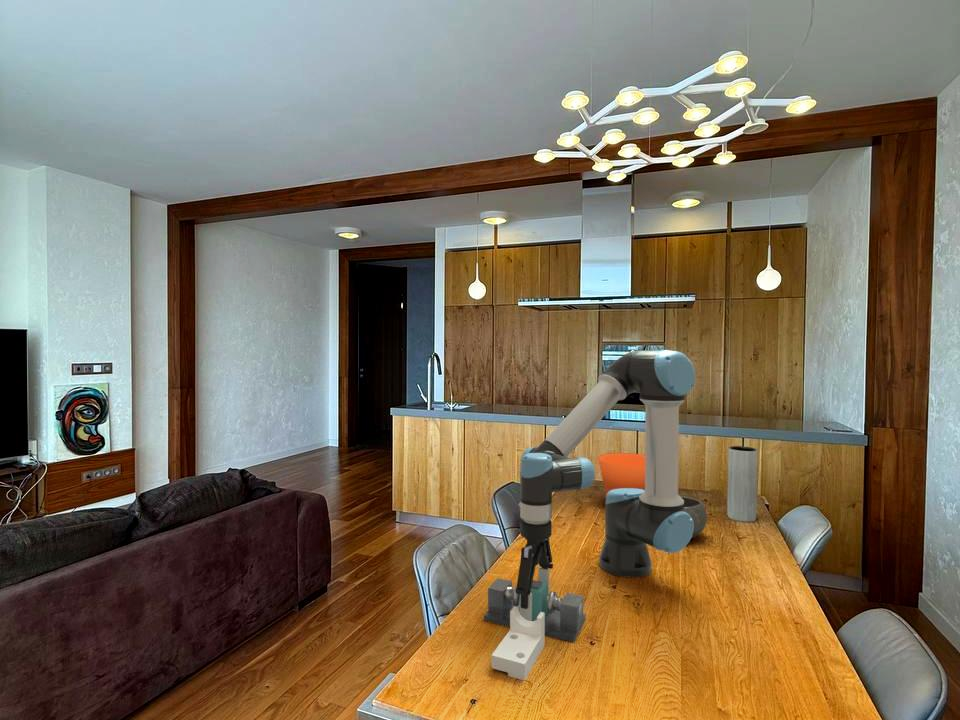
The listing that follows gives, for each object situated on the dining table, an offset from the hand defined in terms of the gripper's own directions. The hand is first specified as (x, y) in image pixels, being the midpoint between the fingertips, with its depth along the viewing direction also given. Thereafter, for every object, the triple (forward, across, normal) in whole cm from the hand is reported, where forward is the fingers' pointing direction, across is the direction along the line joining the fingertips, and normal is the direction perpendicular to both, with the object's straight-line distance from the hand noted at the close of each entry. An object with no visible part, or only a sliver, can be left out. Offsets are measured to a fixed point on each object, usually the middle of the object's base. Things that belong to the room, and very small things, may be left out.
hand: (535, 607), depth 123 cm
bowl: (+3, -74, +28) cm, 79 cm away
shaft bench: (+3, 0, 0) cm, 3 cm away
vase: (+3, -105, +49) cm, 116 cm away
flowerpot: (+3, -101, +7) cm, 101 cm away
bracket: (+4, +16, +2) cm, 16 cm away
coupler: (+2, 0, 0) cm, 2 cm away
